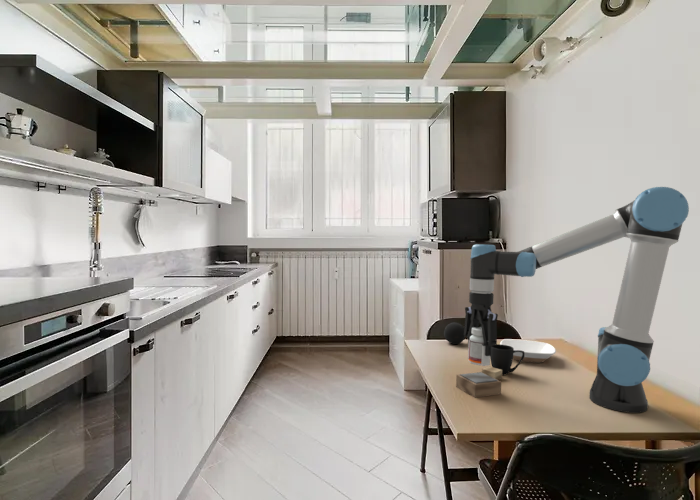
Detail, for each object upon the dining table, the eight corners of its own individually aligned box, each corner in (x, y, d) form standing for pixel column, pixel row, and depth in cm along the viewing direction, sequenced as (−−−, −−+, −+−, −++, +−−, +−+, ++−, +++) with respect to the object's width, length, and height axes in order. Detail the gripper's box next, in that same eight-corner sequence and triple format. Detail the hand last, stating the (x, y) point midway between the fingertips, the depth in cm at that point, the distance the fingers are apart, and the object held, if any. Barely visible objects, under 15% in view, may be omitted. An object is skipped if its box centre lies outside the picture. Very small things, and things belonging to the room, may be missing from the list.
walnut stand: (500, 394, 135) (501, 380, 135) (475, 397, 132) (475, 383, 132) (480, 383, 145) (481, 371, 145) (456, 386, 141) (456, 373, 141)
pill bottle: (474, 359, 142) (476, 325, 142) (491, 363, 138) (493, 329, 138) (464, 362, 138) (466, 328, 138) (482, 367, 134) (483, 331, 133)
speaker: (439, 343, 200) (440, 322, 200) (451, 340, 207) (452, 319, 207) (457, 347, 193) (458, 325, 193) (469, 344, 200) (470, 323, 199)
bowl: (558, 368, 165) (559, 355, 165) (499, 362, 172) (500, 349, 172) (551, 354, 185) (552, 342, 185) (499, 349, 192) (499, 337, 192)
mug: (523, 378, 151) (524, 352, 151) (488, 373, 156) (489, 348, 156) (523, 372, 159) (524, 347, 158) (490, 367, 163) (491, 343, 163)
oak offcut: (502, 378, 151) (502, 369, 151) (494, 381, 148) (494, 372, 148) (489, 374, 155) (489, 366, 155) (481, 377, 152) (482, 368, 151)
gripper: (511, 295, 130) (508, 370, 130) (472, 287, 148) (470, 353, 148) (491, 296, 127) (488, 372, 128) (454, 288, 145) (451, 355, 146)
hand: (478, 362), depth 138 cm, fingers closed on pill bottle, 6 cm apart
